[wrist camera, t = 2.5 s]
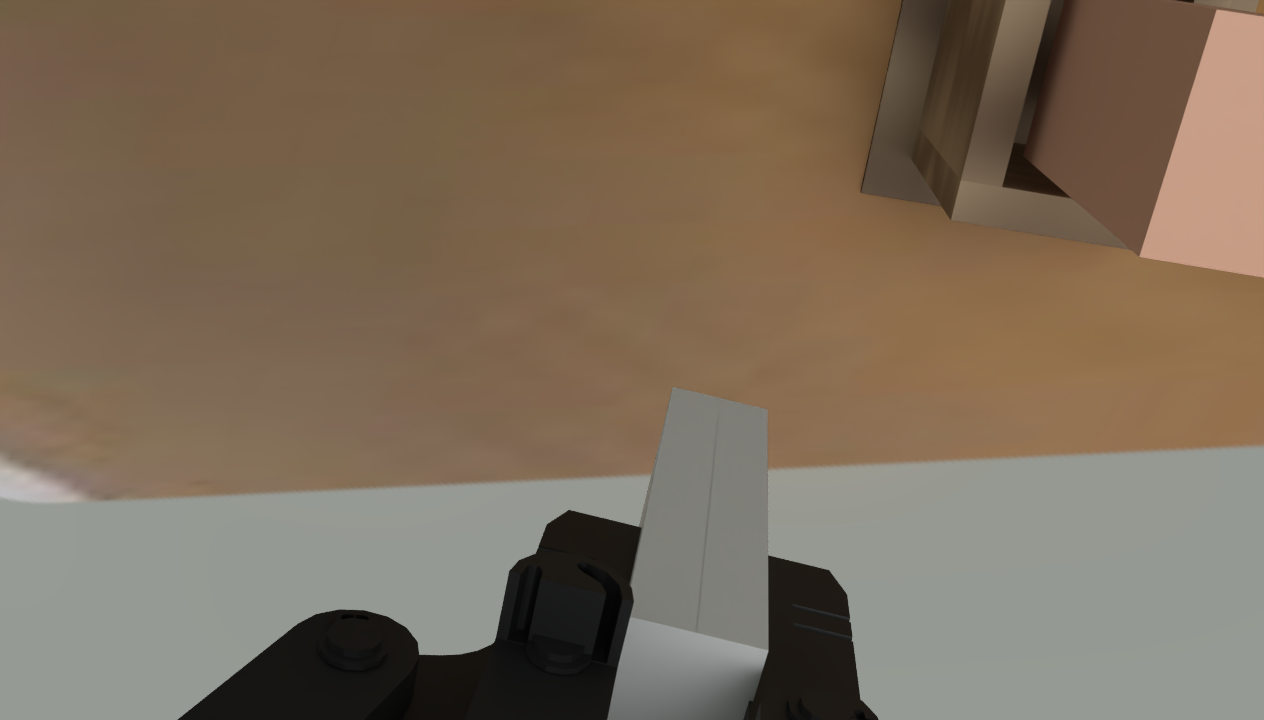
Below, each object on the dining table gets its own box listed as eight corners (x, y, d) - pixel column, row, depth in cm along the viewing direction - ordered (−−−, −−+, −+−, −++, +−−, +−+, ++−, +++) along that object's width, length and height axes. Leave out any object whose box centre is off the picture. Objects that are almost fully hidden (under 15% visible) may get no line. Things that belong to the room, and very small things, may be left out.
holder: (933, -148, 40) (987, -172, 31) (1282, -95, 40) (1450, -103, 30) (860, 189, 45) (887, 261, 35) (1174, 241, 44) (1290, 328, 34)
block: (1068, -17, 33) (1216, 9, 22) (1245, 11, 33) (1480, 49, 22) (1023, 155, 35) (1139, 256, 24) (1189, 183, 35) (1382, 296, 24)
